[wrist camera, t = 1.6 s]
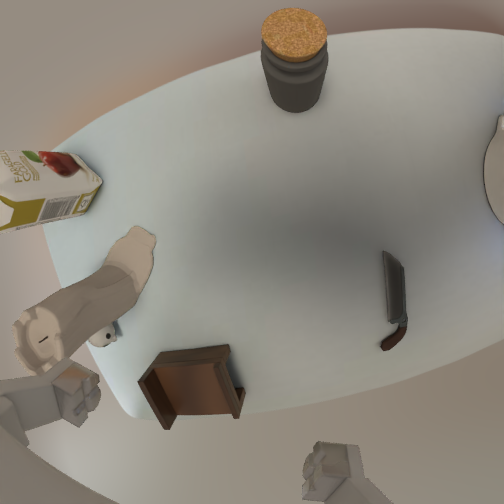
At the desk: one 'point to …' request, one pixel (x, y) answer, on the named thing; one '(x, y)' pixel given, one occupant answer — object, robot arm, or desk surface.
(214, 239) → the desk surface
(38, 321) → the candle
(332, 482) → the robot arm
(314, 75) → the bottle
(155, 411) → the wooden u-shaped stand
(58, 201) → the juice carton
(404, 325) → the knife
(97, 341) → the figurine
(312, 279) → the desk surface
